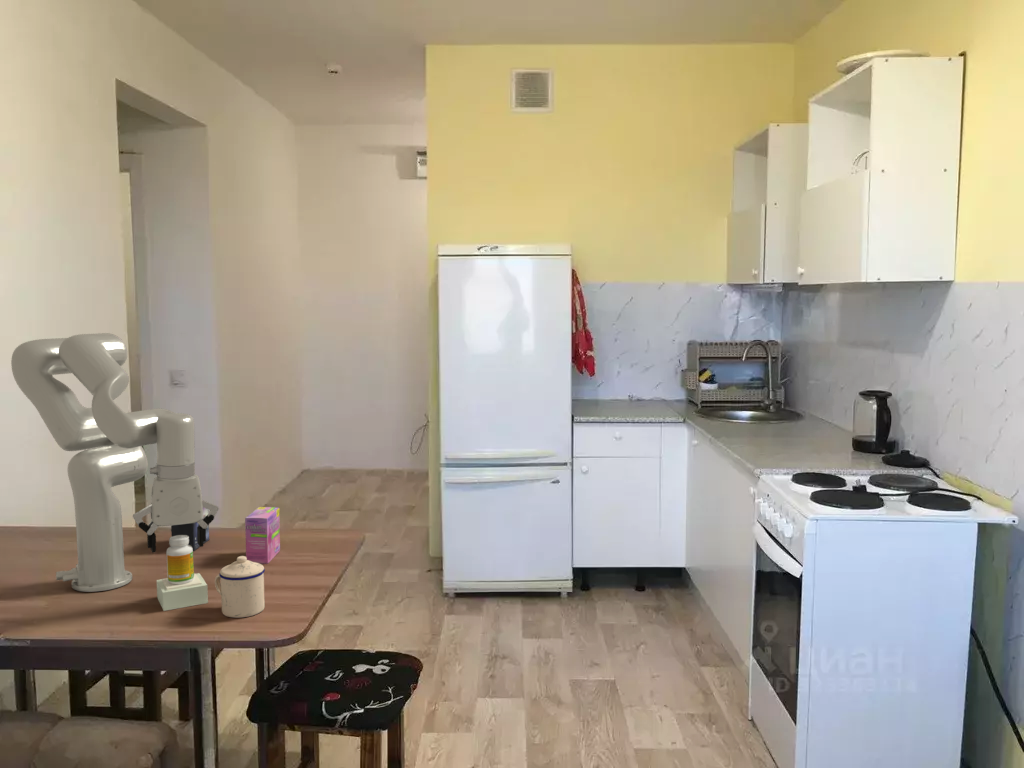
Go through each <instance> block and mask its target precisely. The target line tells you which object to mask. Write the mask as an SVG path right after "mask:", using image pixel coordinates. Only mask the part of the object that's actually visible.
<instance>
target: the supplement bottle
mask: <svg viewBox="0 0 1024 768" xmlns="http://www.w3.org/2000/svg"><path fill="white" fill-rule="evenodd" d="M168 540H169V541H168V542H169V543H168V545H169V547H168V548H166V552H165V553H166V555H165V556H166V573H167V574H166V575H167V577H166V578H167V579H168V582H169V583H170V584H185V583H188V582H191V581H192V580H193V579H194V574H195V571H194V570H195V568H194V566H195V565H194V551H193V548H192V546H190V545H188V543H189V536H187V535H176V536H170V537H169V539H168Z"/></svg>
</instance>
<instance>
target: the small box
mask: <svg viewBox="0 0 1024 768" xmlns="http://www.w3.org/2000/svg"><path fill="white" fill-rule="evenodd" d="M208 514H209V509H206V508H204V507H203V518H202V519H204V518H205V517H206V516H207V515H208ZM198 526H199V524H198V523H197V522H196V523H189V524H180V525H171V526H170V530H171V533H170V534H171V536H170V537H172V536H176V535H187V536H189V543H188V545H190V546H192V548H193V552H195V551H196V550H197V549H199V548H201V547H200V546H199V545H198V543H197V527H198ZM208 541H210V524H209V525H208V527H207V528H206V541H204V542H203V545H204V544H206V543H207V542H208Z"/></svg>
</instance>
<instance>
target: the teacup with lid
mask: <svg viewBox="0 0 1024 768" xmlns="http://www.w3.org/2000/svg"><path fill="white" fill-rule="evenodd" d="M265 571H266V570H265V567H264V564H259V563H256V562H252V561H249V560H247V558H246V555H240V556H237V558H236V561H234V562H232V563H231V564H228V565H225V566H223V567H222V568H221V569H220V571H219V574H217V575H216V576H215V578H214V587H215V589H216V591H217V593H218V594H219V595H220V596H221V613H222V615H224V616H225V617H229V618H238V619H239V618H248V617H252V616H255V615H259V614H260V613H262V612H263V611H264V609H265V605H266V604H265V603H266V602H265Z"/></svg>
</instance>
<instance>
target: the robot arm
mask: <svg viewBox="0 0 1024 768" xmlns="http://www.w3.org/2000/svg"><path fill="white" fill-rule="evenodd" d="M10 359H11V360H10V361H11V363H10V364H11V366H10V367H11V373H12V376H13V378H14V381H15V382H16V385H17V386H18V388H19V389H20V391H21V392H22V393H23V395H25V397H26V398H27V399H28V400H29V401H30V402H31V404H32V405H33V406H34V408H35V409H36V410H37V412H38V413H39V415H40V417H41V419H42V420H43V423H44V424H45V426H46V427H47V429H48V431H49V432H50V434H51V436H52V438H53V439H54V441H55V443H57V445H58V446H59V447H60V448H61V450H63V451H65V452H66V451H67V452H77V451H80V452H78V453H76V454H75V455H73V456H72V457H71V459H70V460H69V462H68V463H67V464H68V465H67V476H68V480H69V484H70V488H71V491H72V496H73V502H74V516H75V517H74V518H75V531H76V546H77V547H76V548H77V563H76V564H75V567H72V568H71V570H60V571H56V572H55V580H56V581H61V580H62V582H64V583H65V582H69V581H71V588H72V589H73V590H75V591H77V592H86V593H87V592H88V593H89V592H90V593H91V592H92V593H93V592H94V593H95V592H102V591H110V590H115V589H117V588H120V587H123V586H126V585H127V584H129V583H130V582H131V581H132V580H133V573H132V572H131V571H129V570H126V569H125V554H124V553H125V550H124V534H123V532H124V531H123V530H124V529H123V517H122V516H123V514H122V512H123V511H122V504H121V502H120V500H119V498H118V497H117V496H116V494H115V493H114V491H113V490H112V488H114V487H116V486H121V485H124V484H129V483H132V482H135V481H138V480H140V479H142V478H143V477H144V476H145V475H146V474H147V471H148V466H149V462H148V457H147V455H146V452H145V449H144V448H143V447H144V446H148V445H155V444H156V465H155V466H153V467H149V474H151V475H155V477H154V479H153V482H152V488H151V495H150V496H151V498H150V504H148V505H147V506H145V507H144V508H141V509H140V510H138V511H136V512H135V513H133V515H132V519H134V521H135V523H136V525H137V526H138V528H139V529H140V530H142V531H143V532H145V534H146V537H147V538H146V539H147V542H146V545H147V549H150V550H151V553H152V554H155V553H156V552H157V534H156V533H155V532H156V530H157V529H158V528H159V527H171V525H180V524H189V523H196V522H197V523H198V524H199V526H198V527H197V543H198V545H199V546H200V547H199V548H201V547H204V544H203V542H204V541H206V528H207V527H208V525H209V526H210V524H211V523H212V522H213V521H214V520H215V517H216V515H217V514H218V511H219V510H220V508H219V506H218V505H217V504H214V503H211V502H209V501H206V500H203V495H202V494H203V493H202V486H201V480H200V476H199V475H197V474H196V471H195V469H196V468H195V466H196V465H195V464H196V463H195V460H196V458H195V450H196V449H195V419H194V417H193V416H192V415H190V414H188V413H182V412H181V413H180V412H178V413H177V412H174V411H171V410H169V409H167V408H159V407H158V408H151V409H144V410H137V411H131V412H125V411H123V410H122V409H121V408H120V407H119V406H118V405H117V403H115V401H114V400H116V399H118V398H119V397H120V396H121V395H122V394H123V393H124V391H126V389H127V387H128V386H129V382H130V376H129V373H128V372H126V370H125V368H123V367H122V366H124V364H125V363H126V361H127V360H128V349H127V346H126V343H125V342H124V341H123V340H122V339H121V338H120V337H119V336H117V335H116V334H114V333H110V332H108V333H107V332H102V333H101V332H98V333H82V334H80V333H79V334H75V335H71V336H69V337H62V338H61V337H60V338H40V339H32V340H28V341H24V342H22V343H21V344H19V345H18V346H16V348H14V350H13V352H12V355H11V358H10ZM65 374H73V376H74V377H76V379H77V380H78V381H79V382H80V383H81V384H82V386H83V387H85V389H86V390H87V391H88V392H89V393H90V394H91V395H92V400H91V407H86V406H83V404H82V403H81V402H80V400H79V399H78V398H77V395H76V394H75V393H74V391H73V390H72V389H71V388H70V386H69V387H68V386H67V385H66V384H65V383H64V382H62V381H60V380H58V379H56V378H55V377H54V375H55V376H56V375H65ZM203 507H204V508H206V509H208V515H207V516H206V517H205V518H204V519H202V518H203ZM148 514H150V518H151V521H150V522H149V523H148V524H147V523H146V522H145V521H144V520H143V518H145V516H148Z"/></svg>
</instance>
